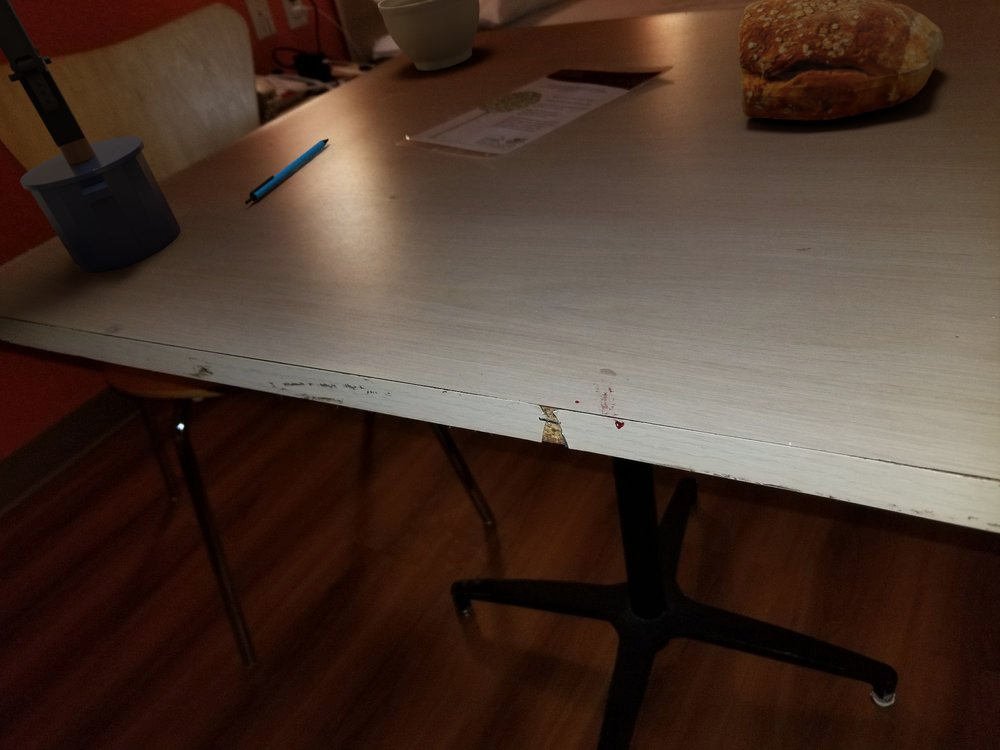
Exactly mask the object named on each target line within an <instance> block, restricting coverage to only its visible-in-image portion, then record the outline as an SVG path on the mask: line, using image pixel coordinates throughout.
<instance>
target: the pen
mask: <svg viewBox="0 0 1000 750" xmlns="http://www.w3.org/2000/svg"><path fill="white" fill-rule="evenodd" d="M328 142H329V138H325V139H322V140H320V141H318V142H317V143H316V144H314V145H313V146H312V147H310V148H309V149H307V150H306V151H305V152H304V153H302V154H301V155H300V156H298V157H297V158H296V159H294V161H292V162H291V163H289V164H287V166H286V167H284V168H283V169H281V170H280V171H279V172H278V173H276V174H275V175H270V176H269V177H268V178H267V179H265V180H264V181H263V182H261V183H260V184H259V185H258V186H256V187H255V188H254V189H252V190H251V191H250V192H249V196H248V197H249V198H248V199H246V200H245V201H244V203H245V204H246V205H249V204H250V203H252V202H256V201H257V200H259V199H260V198H261V197H263V196H265V194H266V193H268V192H269V191H271V189H273V188H274V187H275V186H277V185H278V184H279V183H280V182H281V181H283V180H284V179H285V178H287V177H288V176H289V175H290V174H292V173H293V172H294V171H295V170H297V169H298V168H299V167H301V166H302V165H303V164H304V163H306V162H307V161H308V160H310V159H311V158H312V157H314V156H315V155H316V154H317V153H319V152H320V151H321V150H322V149H324V148H325V147H326V145H327V144H328Z"/></svg>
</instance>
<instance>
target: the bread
mask: <svg viewBox="0 0 1000 750" xmlns="http://www.w3.org/2000/svg"><path fill="white" fill-rule="evenodd" d="M742 13H743V15H742V19H741V21H740V23H739V27H738V36H737V37H738V38H737V39H738V40H737V46H738V47H737V49H738V51H737V53H738V54H737V55H738V59H739V65H740V100H741V101H740V102H741V107H742V111H743V113H744V115H745V116H746V117H749V118H754V119H755V118H756V119H774V120H787V121H805V122H806V121H830V120H837V119H843V118H847V117H853V116H857V115H861V114H865V113H870V112H874V111H878V110H883V109H888V108H892V107H895V106H898V105H899V104H901V103H904V102H906V101H909V100H911V99H913V98H914V97H915V96H916V95H918V94H919V92H921V91H922V89H923V88H924V87H925V86H926V85H927V83H928V80H929V78H930V76H931V75H932V73H933V71H934V69H935V68H936V66H937V65H938V64H939V63H940V60H941V56H942V50H943V48H944V44H945V43H944V37H943V33H942V30H941V28H940V27H939V26H938V25H937V24H935V23H934V22H933V21H931V20H930V19H929V18H928V17H927V16H926V15H924V14H922V13H921V12H918V11H917V10H914V9H912V7H909V6H908V5H906V4H902V3H898V2H894V1H890V0H758V1H754V2H753V3H750V4H748V5H747V6H746V7H745V8H744V10H743V12H742Z"/></svg>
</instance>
